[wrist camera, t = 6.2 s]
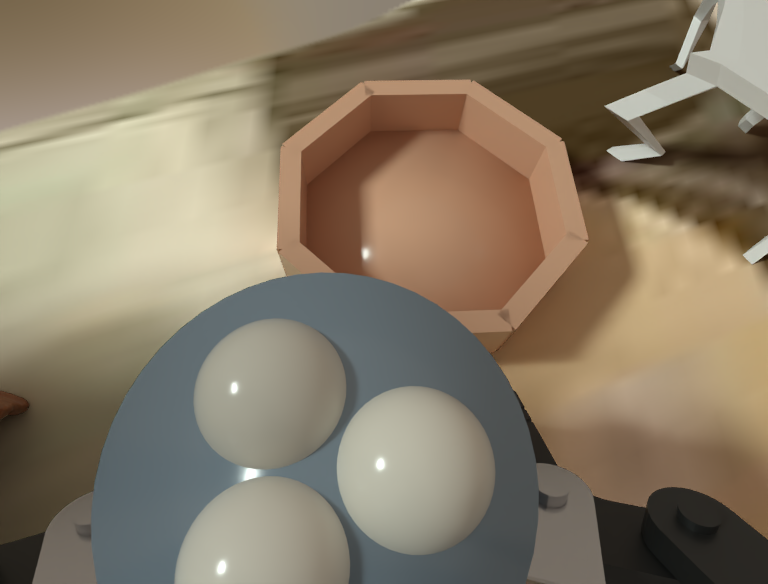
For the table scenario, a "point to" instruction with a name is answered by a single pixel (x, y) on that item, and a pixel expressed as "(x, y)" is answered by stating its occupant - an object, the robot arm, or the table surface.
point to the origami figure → (709, 78)
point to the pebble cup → (318, 448)
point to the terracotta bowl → (433, 199)
